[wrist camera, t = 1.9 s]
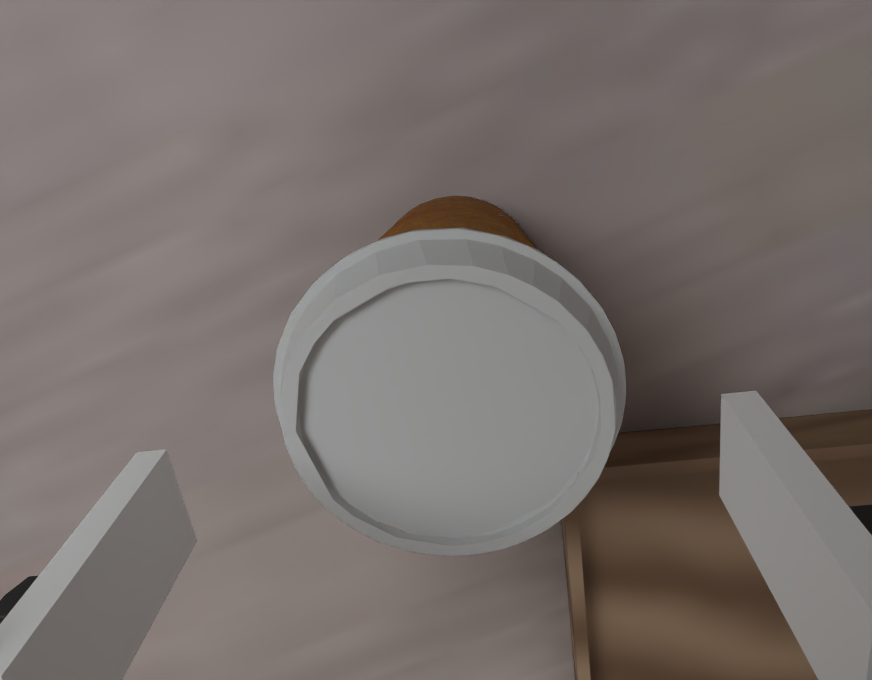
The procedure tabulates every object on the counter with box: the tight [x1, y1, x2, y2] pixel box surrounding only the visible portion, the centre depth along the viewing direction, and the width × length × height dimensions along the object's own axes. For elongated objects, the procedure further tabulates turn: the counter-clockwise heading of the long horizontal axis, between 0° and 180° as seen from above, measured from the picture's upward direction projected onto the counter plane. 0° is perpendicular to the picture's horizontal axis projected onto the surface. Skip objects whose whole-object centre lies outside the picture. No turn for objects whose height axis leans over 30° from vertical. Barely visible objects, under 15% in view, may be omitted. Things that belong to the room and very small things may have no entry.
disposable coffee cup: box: [273, 196, 626, 556], centre depth 24 cm, size 10×10×12 cm
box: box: [562, 410, 872, 680], centre depth 33 cm, size 17×17×2 cm
